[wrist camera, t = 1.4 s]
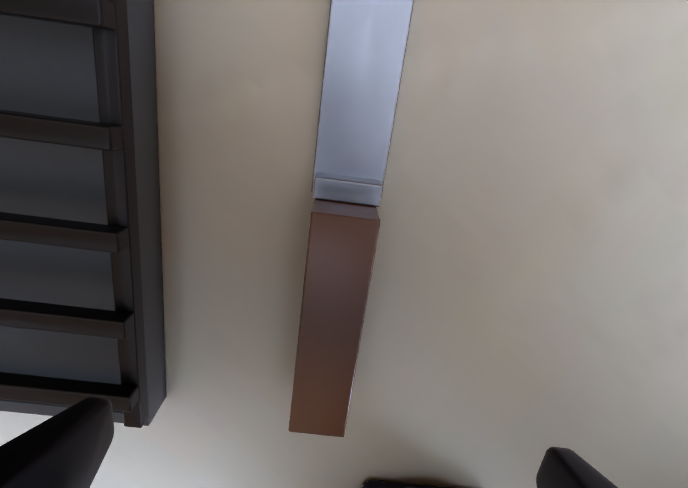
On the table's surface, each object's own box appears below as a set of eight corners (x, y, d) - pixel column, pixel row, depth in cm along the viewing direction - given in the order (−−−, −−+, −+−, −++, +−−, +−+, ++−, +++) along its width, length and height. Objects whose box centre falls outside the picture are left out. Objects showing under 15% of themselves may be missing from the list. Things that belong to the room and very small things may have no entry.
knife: (348, 389, 18) (349, 438, 16) (292, 383, 18) (283, 431, 16) (449, -221, 11) (481, -319, 8) (356, -237, 11) (359, -342, 8)
